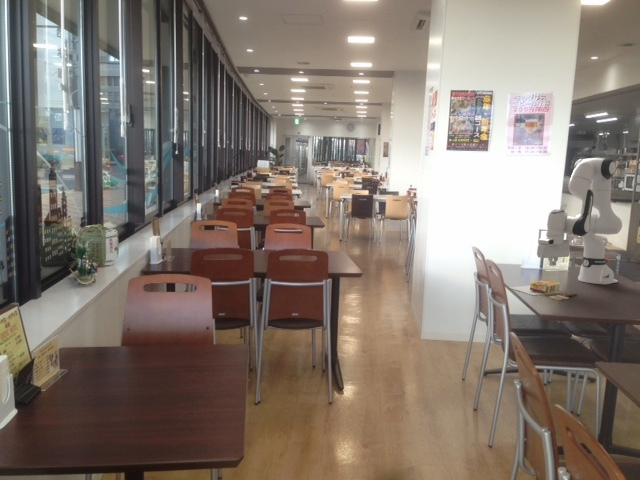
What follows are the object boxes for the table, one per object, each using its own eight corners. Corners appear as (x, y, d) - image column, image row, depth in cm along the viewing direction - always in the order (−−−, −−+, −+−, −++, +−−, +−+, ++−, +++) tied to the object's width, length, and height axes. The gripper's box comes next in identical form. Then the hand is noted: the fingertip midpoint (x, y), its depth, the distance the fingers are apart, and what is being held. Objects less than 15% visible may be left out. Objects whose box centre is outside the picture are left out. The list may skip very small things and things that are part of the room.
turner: (570, 293, 306) (570, 291, 306) (580, 296, 301) (581, 293, 301) (548, 298, 296) (549, 295, 296) (559, 300, 291) (559, 297, 291)
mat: (536, 285, 325) (536, 285, 324) (562, 292, 308) (562, 292, 308) (508, 288, 316) (508, 287, 316) (533, 295, 300) (533, 294, 300)
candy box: (560, 282, 312) (546, 286, 302) (559, 290, 313) (545, 294, 303) (545, 279, 319) (530, 282, 309) (544, 286, 320) (529, 289, 310)
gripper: (564, 238, 320) (562, 263, 322) (536, 239, 312) (533, 265, 314) (573, 240, 315) (571, 265, 316) (545, 241, 306) (542, 267, 308)
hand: (552, 265), depth 315 cm, fingers closed
